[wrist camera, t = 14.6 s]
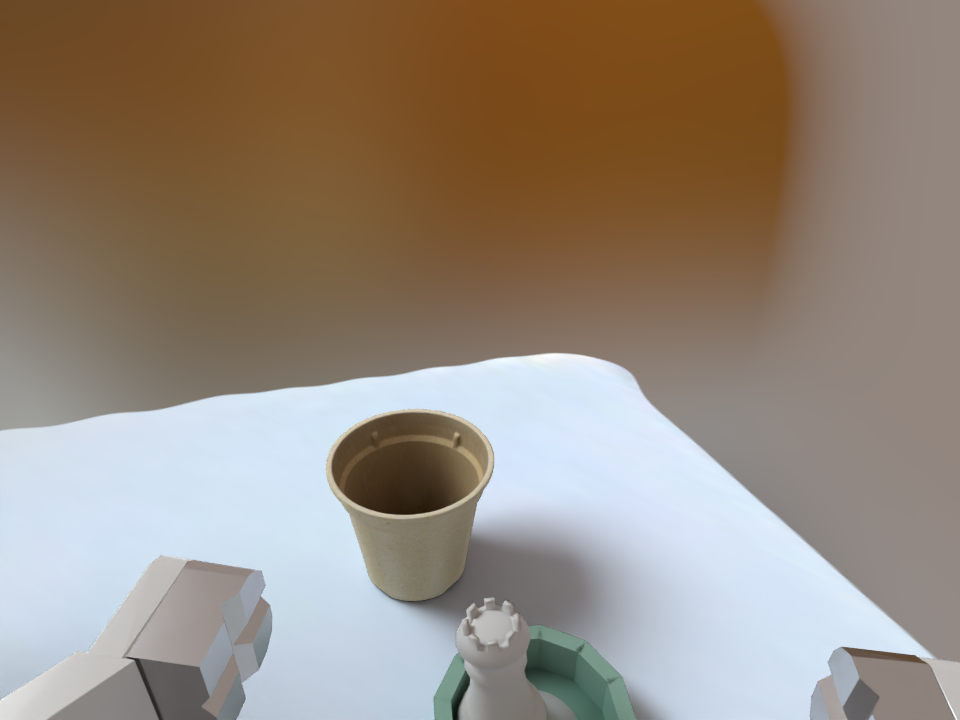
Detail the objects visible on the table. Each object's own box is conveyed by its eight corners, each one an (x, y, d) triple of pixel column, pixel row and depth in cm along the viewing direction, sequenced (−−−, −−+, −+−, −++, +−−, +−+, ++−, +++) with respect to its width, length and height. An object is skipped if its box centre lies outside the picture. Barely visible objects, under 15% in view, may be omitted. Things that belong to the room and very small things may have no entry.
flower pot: (520, 588, 41) (526, 480, 36) (374, 654, 37) (360, 542, 32) (451, 493, 48) (448, 393, 43) (322, 541, 44) (304, 436, 39)
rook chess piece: (450, 776, 31) (428, 662, 27) (466, 688, 35) (449, 577, 31) (547, 786, 30) (540, 671, 26) (552, 695, 34) (546, 582, 30)
